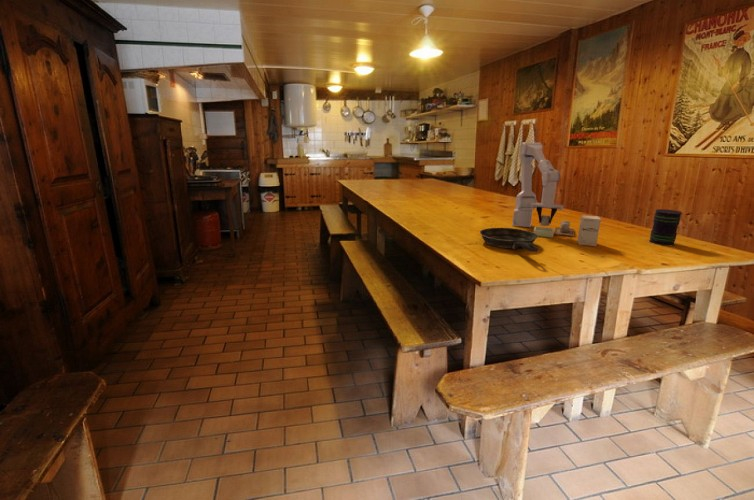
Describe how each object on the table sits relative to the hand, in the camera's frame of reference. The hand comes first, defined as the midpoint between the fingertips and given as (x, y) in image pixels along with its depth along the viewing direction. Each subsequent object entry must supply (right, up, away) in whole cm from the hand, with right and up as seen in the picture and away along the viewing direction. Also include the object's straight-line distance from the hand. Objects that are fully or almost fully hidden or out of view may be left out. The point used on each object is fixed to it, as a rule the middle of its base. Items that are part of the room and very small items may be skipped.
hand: (544, 222), depth 197 cm
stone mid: (+13, -4, +6) cm, 15 cm away
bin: (0, -6, +2) cm, 6 cm away
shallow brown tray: (+13, -5, +6) cm, 15 cm away
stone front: (0, -1, 0) cm, 1 cm away
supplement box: (+13, -11, -14) cm, 22 cm away
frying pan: (-23, -13, -22) cm, 34 cm away
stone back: (+14, -3, +10) cm, 18 cm away
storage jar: (+50, -10, -11) cm, 52 cm away
